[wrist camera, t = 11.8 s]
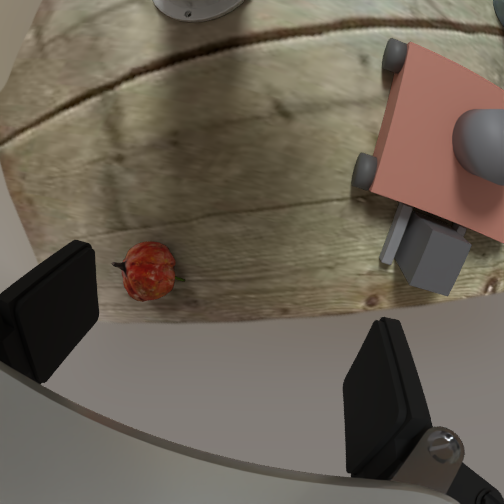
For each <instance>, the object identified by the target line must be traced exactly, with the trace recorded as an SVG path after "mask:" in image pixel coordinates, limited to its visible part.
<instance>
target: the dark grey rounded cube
mask: <svg viewBox="0 0 504 504" xmlns="http://www.w3.org/2000/svg"><path fill="white" fill-rule="evenodd" d="M470 248H471V244H470V243H469V242H468V241H467V240H466V239H465V238H463V237H462V236H461V235H460V234H459V233H458V232H456V231H455V230H454V229H453V228H452V227H450V226H449V225H448V224H447V223H444V222H442V221H439V220H436V219H434V218H431V217H429V216H426V215H423V214H420V213H418V212H415V211H412V212H411V215H410V218H409V220H408V223H407V226H406V229H405V231H404V234H403V236H402V239H401V242H400V244H399V247H398V249H397V252H396V254H395V257H394V258H395V260H396V262H397V263H398V265H399V267H400V269H401V271H402V272H403V274H404V276H405V278H406V280H407V281H408V283H409V285H411V286H414V287H418V288H421V289H425V290H428V291H431V292H435V293H438V294H442V295H445V296H448V295H449V293H450V291H451V289H452V287H453V285H454V283H455V281H456V279H457V277H458V275H459V273H460V270H461V268H462V266H463V264H464V262H465V259H466V257H467V255H468V252H469V250H470Z"/></svg>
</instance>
